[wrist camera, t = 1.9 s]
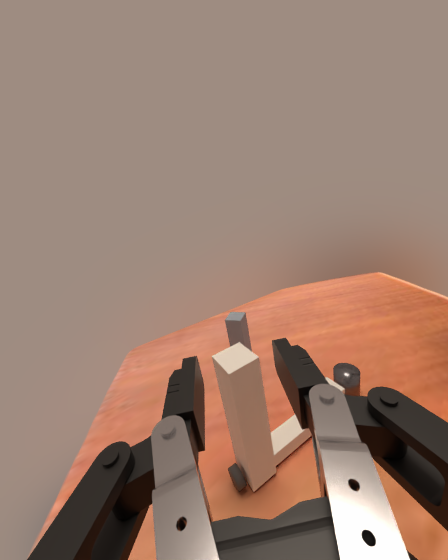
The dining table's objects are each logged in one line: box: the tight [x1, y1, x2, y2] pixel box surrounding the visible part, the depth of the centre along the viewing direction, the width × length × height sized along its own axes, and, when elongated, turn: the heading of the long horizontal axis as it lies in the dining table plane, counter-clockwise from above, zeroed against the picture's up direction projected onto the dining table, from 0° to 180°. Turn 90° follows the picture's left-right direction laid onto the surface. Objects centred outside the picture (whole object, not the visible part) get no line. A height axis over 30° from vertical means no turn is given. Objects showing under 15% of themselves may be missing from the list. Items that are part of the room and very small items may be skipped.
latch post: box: [225, 312, 252, 352], centre depth 45 cm, size 3×3×12 cm
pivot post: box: [333, 363, 360, 396], centre depth 36 cm, size 4×4×5 cm
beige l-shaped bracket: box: [212, 342, 345, 492], centre depth 29 cm, size 19×4×17 cm, turn 120°
